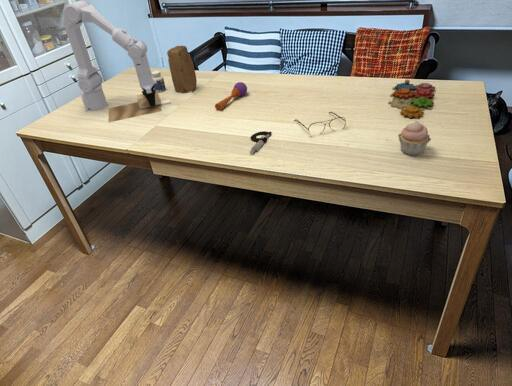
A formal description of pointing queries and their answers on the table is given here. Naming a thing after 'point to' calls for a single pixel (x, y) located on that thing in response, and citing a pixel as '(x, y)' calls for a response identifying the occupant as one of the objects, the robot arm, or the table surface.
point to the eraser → (165, 102)
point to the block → (181, 69)
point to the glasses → (324, 121)
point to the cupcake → (414, 138)
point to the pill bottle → (158, 81)
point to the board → (130, 111)
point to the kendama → (233, 95)
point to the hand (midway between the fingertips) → (152, 103)
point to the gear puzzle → (412, 98)
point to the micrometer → (259, 140)
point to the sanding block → (144, 102)
